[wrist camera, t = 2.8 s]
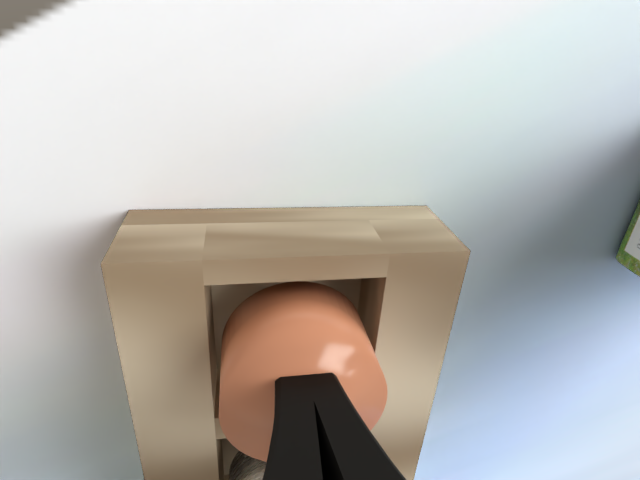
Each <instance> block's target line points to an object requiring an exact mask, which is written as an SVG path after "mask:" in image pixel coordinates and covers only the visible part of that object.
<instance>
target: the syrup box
mask: <svg viewBox="0 0 640 480" xmlns="http://www.w3.org/2000/svg"><path fill="white" fill-rule="evenodd" d="M616 260H617V261H618V262H619V263H620V264H622V265H623V266H625V267H626V268H628V269H629V270H631V271H632V272H634V273H635V274H636V275H638V276H639V277H640V200H639V203H638V205H637V208H636V210H635V213H634V215H633V217H632V220H631V222H630V224H629V226H628V229H627V231H626V234H625V236H624V238H623V240H622V243H621V245H620V248H619V251H618V253H617V256H616Z"/></svg>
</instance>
